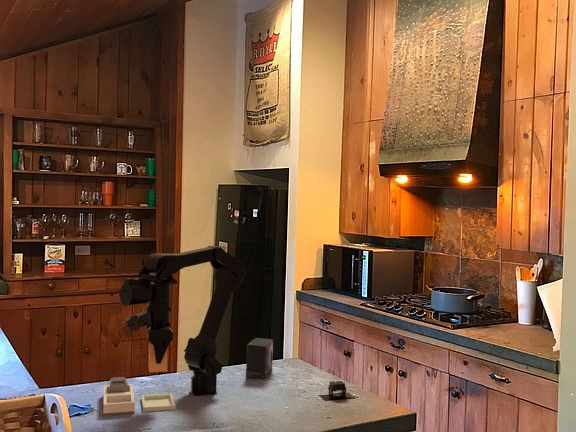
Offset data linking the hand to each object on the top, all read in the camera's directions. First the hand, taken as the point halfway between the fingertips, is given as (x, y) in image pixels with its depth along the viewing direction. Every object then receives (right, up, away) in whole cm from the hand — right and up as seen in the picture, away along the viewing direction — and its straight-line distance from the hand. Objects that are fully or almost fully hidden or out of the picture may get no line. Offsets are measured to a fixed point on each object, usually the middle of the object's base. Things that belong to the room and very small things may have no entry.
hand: (157, 361), depth 160 cm
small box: (+25, -12, +33) cm, 43 cm away
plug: (0, -2, 0) cm, 2 cm away
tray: (0, -12, 0) cm, 12 cm away
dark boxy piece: (+48, -14, +12) cm, 51 cm away
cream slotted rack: (-10, -12, -1) cm, 16 cm away
